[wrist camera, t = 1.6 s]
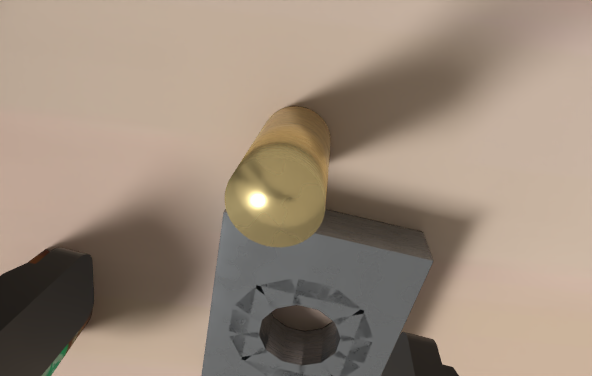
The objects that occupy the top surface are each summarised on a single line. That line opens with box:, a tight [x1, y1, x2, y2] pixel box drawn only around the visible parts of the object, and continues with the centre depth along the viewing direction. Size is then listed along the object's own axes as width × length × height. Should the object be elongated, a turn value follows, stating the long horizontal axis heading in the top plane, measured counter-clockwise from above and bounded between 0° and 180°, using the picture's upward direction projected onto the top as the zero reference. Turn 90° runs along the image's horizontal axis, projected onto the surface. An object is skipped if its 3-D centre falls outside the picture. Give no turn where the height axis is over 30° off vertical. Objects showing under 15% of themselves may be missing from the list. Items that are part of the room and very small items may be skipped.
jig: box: [202, 209, 433, 376], centre depth 26 cm, size 16×12×3 cm
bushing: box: [225, 106, 331, 247], centre depth 18 cm, size 4×4×8 cm
